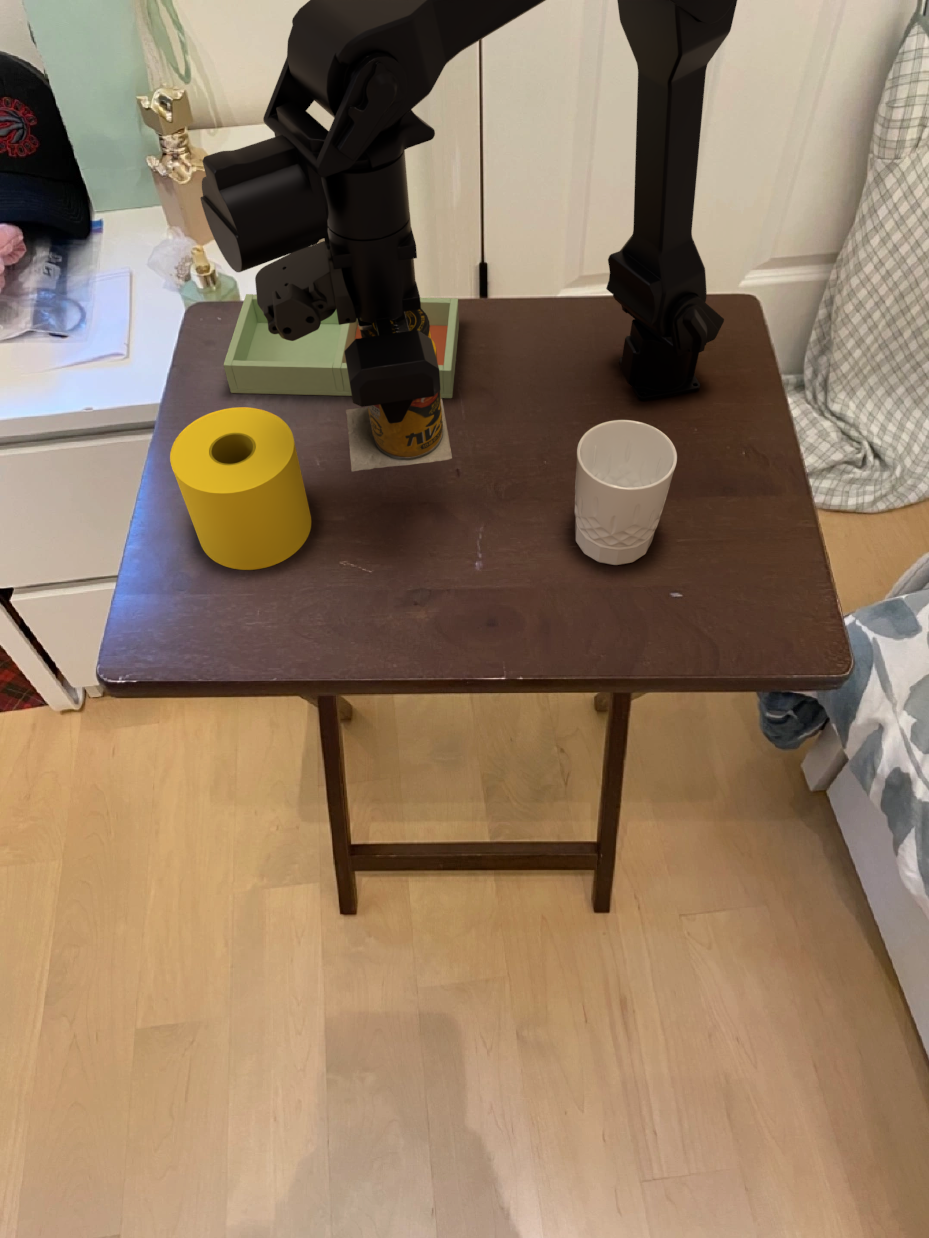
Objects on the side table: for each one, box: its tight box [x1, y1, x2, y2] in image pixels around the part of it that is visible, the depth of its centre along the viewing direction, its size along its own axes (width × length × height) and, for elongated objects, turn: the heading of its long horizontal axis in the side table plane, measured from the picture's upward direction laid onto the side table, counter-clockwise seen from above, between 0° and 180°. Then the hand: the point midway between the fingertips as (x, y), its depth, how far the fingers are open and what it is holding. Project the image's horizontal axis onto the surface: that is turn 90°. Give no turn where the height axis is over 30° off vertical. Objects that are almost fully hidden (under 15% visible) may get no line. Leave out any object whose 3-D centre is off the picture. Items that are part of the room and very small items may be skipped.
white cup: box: [574, 419, 678, 566], centre depth 78 cm, size 8×8×10 cm
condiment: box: [345, 309, 453, 472], centre depth 75 cm, size 7×8×12 cm
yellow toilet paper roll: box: [169, 406, 312, 571], centre depth 80 cm, size 10×10×9 cm
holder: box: [222, 293, 460, 399], centre depth 96 cm, size 22×12×4 cm, turn 87°
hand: (389, 395), depth 76 cm, fingers closed on condiment, 6 cm apart
